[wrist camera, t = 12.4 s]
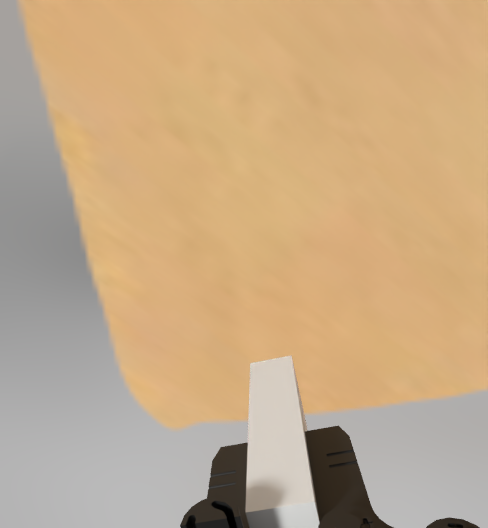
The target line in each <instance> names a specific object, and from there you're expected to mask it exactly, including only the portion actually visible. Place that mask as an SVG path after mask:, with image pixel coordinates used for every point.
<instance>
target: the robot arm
mask: <svg viewBox="0 0 488 528" xmlns="http://www.w3.org/2000/svg"><path fill="white" fill-rule="evenodd" d="M180 527H181V528H393V527H391V526H389V525H387V524H386V523H384V522H383V521H382V520H380V519H379V518H378V516H377V515H376V514H375V513H374V511H373V509H372V507H371V504H370V501H369V498H368V495H367V491H366V489H365V485H364V482H363V479H362V475H361V472H360V469H359V466H358V463H357V459H356V456H355V453H354V450H353V447H352V444H351V440H350V437H349V436H348V435H347V434H346V433H345V432H344V431H343V430H342V429H341V428H340V427H339V426H334V427H328V428H323V429H317V430H311V431H307V426H306V420H305V416H304V411H303V406H302V402H301V397H300V393H299V388H298V383H297V379H296V374H295V370H294V365H293V360H292V356H286V357H281V358H276V359H270V360H265V361H260V362H254V363H250V391H249V421H248V443H243V444H238V445H231V446H225V447H221V448H220V450H219V451H218V453H217V454H216V456H215V458H214V459H213V461H212V468H211V478H210V482H209V490H208V496H207V499H205V500H202V501H200V502H199V503H197V504H196V505H194V506H193V507H191V509H190V510H189V511H188V512H187V513H186V514H185V515H184V518H183V520H182V523H181V525H180ZM426 528H479V527H478V526H476V525H474V524H472V523H470V522H468V521H465V520H462V519H455V518H445V519H439V520H436V521H434V522H433V523H431V524H430V525H428V526H427V527H426Z"/></svg>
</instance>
